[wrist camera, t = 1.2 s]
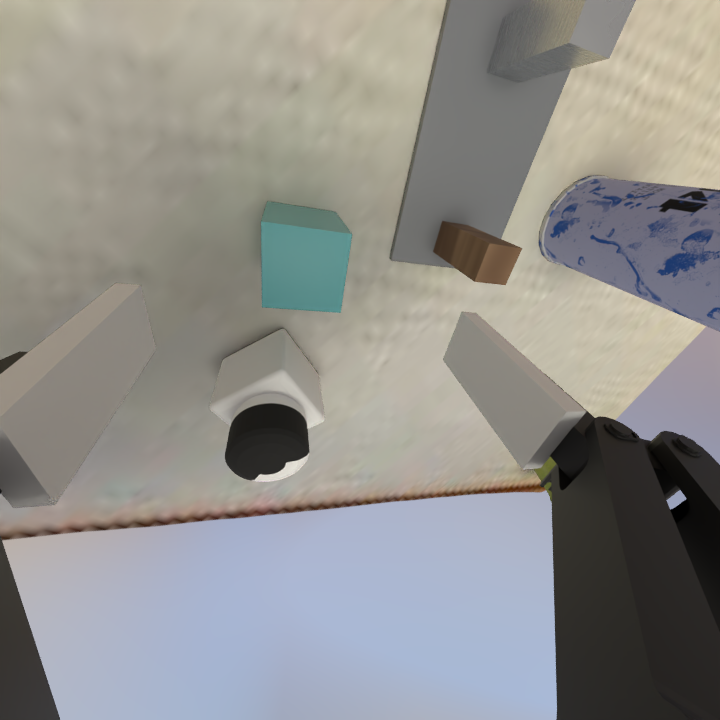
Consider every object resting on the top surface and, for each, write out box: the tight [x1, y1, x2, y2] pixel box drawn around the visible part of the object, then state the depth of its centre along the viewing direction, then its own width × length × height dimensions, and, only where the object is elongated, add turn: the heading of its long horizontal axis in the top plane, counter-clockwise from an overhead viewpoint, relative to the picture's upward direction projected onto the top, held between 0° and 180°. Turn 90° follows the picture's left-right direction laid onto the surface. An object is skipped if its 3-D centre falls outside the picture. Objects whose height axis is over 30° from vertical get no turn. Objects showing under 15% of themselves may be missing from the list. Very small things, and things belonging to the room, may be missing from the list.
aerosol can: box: [539, 175, 720, 331], centre depth 21 cm, size 8×8×20 cm
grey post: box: [487, 0, 636, 83], centre depth 17 cm, size 3×3×8 cm
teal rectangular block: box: [261, 201, 352, 313], centre depth 22 cm, size 5×5×8 cm
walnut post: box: [433, 221, 522, 285], centre depth 24 cm, size 3×3×8 cm
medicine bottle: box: [209, 329, 325, 482], centre depth 26 cm, size 7×7×12 cm
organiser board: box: [390, 0, 571, 268], centre depth 23 cm, size 10×17×1 cm, turn 170°
